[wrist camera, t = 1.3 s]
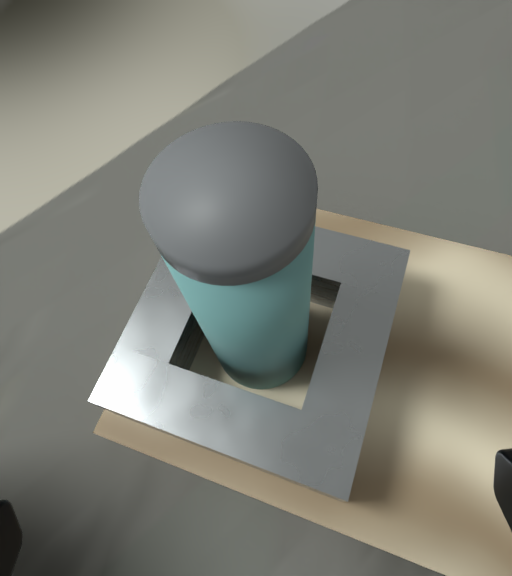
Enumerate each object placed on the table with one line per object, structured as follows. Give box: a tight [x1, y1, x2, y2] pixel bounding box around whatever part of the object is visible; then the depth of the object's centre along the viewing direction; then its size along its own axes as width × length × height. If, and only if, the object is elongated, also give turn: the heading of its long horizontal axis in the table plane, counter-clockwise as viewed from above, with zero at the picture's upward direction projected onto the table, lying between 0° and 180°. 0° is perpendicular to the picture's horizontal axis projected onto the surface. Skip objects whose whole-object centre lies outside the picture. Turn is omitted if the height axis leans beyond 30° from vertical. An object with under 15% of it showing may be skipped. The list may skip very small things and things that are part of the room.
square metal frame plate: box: [88, 226, 410, 502], centre depth 20 cm, size 11×11×3 cm
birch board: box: [93, 209, 512, 576], centre depth 20 cm, size 15×35×2 cm, turn 70°
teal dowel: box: [139, 121, 318, 389], centre depth 16 cm, size 4×4×12 cm
